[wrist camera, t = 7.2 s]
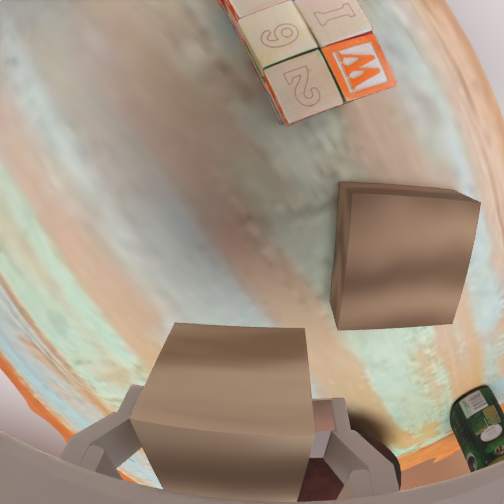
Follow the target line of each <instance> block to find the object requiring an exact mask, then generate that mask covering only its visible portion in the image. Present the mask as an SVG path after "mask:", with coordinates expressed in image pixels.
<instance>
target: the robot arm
mask: <svg viewBox="0 0 504 504" xmlns="http://www.w3.org/2000/svg"><path fill="white" fill-rule="evenodd" d="M143 388H144V386H140V385H134V384H133V385H132V386H131V387H130V388H129V390H128V392H127V394H126V396H125V398H124V400H123V402H122V404H121V406H120V408H119V410H118V412H113V413H111V414H110V415H108V416H106V417H105V418H103V419H101V420H99V421H98V422H96V423H94V424H93V425H91V426H89V427H87V428H86V429H84V430H82V431H80V432H79V433H77V434H75V435H73V436H71V438H70V440H69V442H68V443H67V445H66V447H65V449H64V451H63V452H62V454H61V456H60V458H57V457H54V456H52V455H50V454H47V453H45V452H43V451H40V450H38V449H36V448H33V447H32V446H30V445H27V444H25V443H23V442H21V441H19V440H17V439H15V438H13V437H11V436H9V435H8V434H6V433H4V432H2V431H0V504H504V460H503V461H500V462H498V463H495V464H493V465H490V466H488V467H485V468H482V469H479V470H477V471H474V472H471V473H468V474H465V475H462V476H458V477H455V478H452V479H448V480H445V481H442V482H438V483H434V484H430V485H426V486H422V487H417V488H413V489H408V490H404V491H399V486H398V482H397V478H396V473H395V469H394V465H393V464H392V463H391V462H390V461H389V460H387V459H386V458H385V457H384V456H383V455H382V454H381V453H380V452H378V451H377V450H376V449H375V448H374V447H373V446H372V445H371V444H369V443H368V442H367V441H366V440H365V439H364V438H363V437H362V436H361V435H360V434H358V433H357V432H356V431H355V430H351V428H350V423H349V418H348V413H347V407H346V402H345V399H344V398H320V399H312V404H313V416H314V428H315V438H314V442H313V445H312V449H311V453H310V457H309V458H323V459H324V460H325V461H326V463H327V464H328V465H329V466H330V468H331V469H332V470H333V471H334V473H335V474H336V475H337V476H338V478H339V479H340V480H341V481H342V482H343V484H344V487H343V489H342V491H341V492H340V494H339V496H338V498H337V500H329V501H311V502H262V501H244V500H231V499H221V498H212V497H204V496H197V495H190V494H184V493H178V492H173V491H168V490H163V489H158V488H153V487H149V486H145V485H140V484H136V483H132V482H129V481H125V480H123V479H122V477H121V476H120V474H119V473H118V471H117V470H116V468H117V467H118V466H120V465H121V464H122V463H123V462H125V461H126V460H127V459H128V458H129V457H131V456H132V455H133V454H134V453H135V452H137V451H138V450H139V449H140V448H141V447H142V445H141V443H140V441H139V439H138V437H137V434H136V432H135V430H134V427H133V425H132V423H131V420H130V417H131V414H132V412H133V410H134V408H135V406H136V403H137V401H138V399H139V397H140V395H141V392H142V390H143Z"/></svg>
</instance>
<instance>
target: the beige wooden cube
mask: <svg viewBox="0 0 504 504" xmlns="http://www.w3.org/2000/svg"><path fill="white" fill-rule="evenodd" d="M130 420H131V423H132V425H133V427H134V430H135V432H136V434H137V437H138V439H139V441H140V443H141V445H142V448H143V450H144V452H145V454H146V456H147V458H148V460H149V462H150V464H151V466H152V468H153V470H154V472H155V474H156V476H157V478H158V480H159V482H160V484H161V486H162V487H163V489H164V490H168V491H173V492H178V493H184V494H190V495H197V496H204V497H212V498H221V499H231V500H244V501H262V502H297V499H298V496H299V492H300V489H301V486H302V482H303V479H304V475H305V472H306V468H307V464H308V461H309V457H310V453H311V449H312V445H313V442H314V438H315V428H314V416H313V404H312V394H311V383H310V373H309V363H308V354H307V345H306V336H305V328H267V327H240V326H220V325H203V324H189V323H176V322H175V323H174V325H173V327H172V329H171V332H170V334H169V336H168V338H167V340H166V342H165V344H164V346H163V348H162V350H161V352H160V354H159V356H158V358H157V361H156V363H155V365H154V367H153V369H152V371H151V373H150V375H149V377H148V380H147V382H146V384H145V386H144V388H143V390H142V392H141V395H140V397H139V399H138V401H137V403H136V406H135V408H134V410H133V412H132V414H131V417H130Z"/></svg>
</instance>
